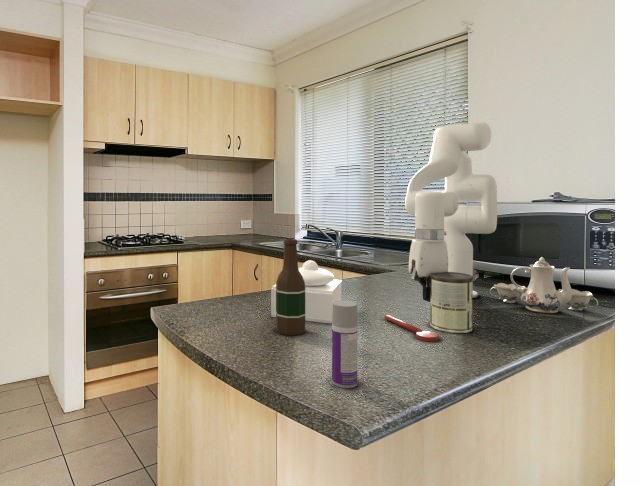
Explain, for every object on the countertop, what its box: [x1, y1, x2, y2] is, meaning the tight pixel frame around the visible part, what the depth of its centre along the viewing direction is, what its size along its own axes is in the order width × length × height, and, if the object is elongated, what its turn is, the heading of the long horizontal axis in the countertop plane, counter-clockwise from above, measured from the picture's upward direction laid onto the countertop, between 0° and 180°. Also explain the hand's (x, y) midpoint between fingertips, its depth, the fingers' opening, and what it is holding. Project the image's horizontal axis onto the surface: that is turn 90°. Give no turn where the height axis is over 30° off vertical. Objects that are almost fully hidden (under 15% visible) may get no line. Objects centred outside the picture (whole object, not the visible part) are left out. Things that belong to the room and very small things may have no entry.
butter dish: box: [270, 259, 343, 324], centre depth 132 cm, size 18×18×16 cm
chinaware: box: [489, 256, 599, 314], centre depth 137 cm, size 28×17×17 cm, turn 62°
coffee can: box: [429, 272, 474, 334], centre depth 116 cm, size 10×10×14 cm
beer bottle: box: [275, 238, 306, 336], centre depth 113 cm, size 8×8×24 cm
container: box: [331, 300, 359, 389], centre depth 82 cm, size 5×5×15 cm
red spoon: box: [384, 314, 439, 342], centre depth 115 cm, size 20×5×1 cm, turn 15°
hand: (428, 300), depth 122 cm, fingers closed
